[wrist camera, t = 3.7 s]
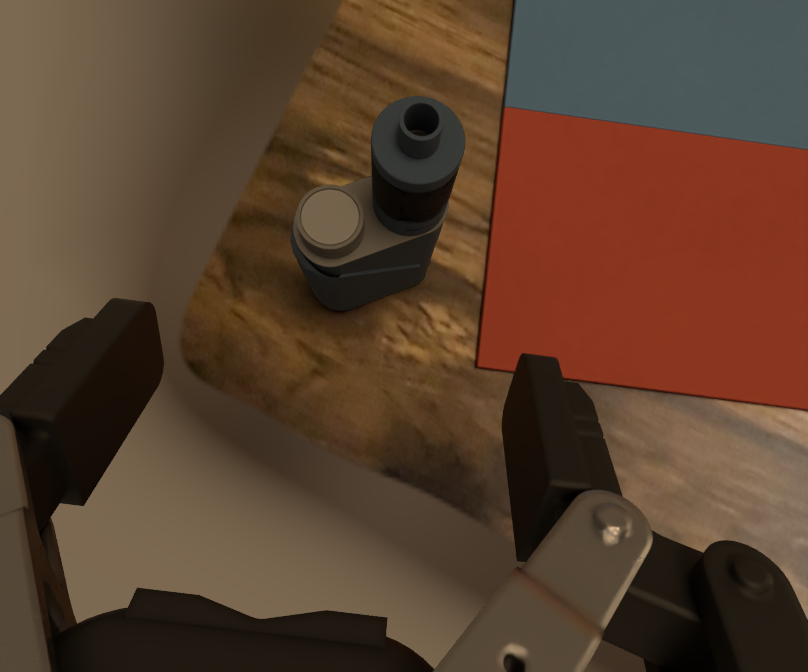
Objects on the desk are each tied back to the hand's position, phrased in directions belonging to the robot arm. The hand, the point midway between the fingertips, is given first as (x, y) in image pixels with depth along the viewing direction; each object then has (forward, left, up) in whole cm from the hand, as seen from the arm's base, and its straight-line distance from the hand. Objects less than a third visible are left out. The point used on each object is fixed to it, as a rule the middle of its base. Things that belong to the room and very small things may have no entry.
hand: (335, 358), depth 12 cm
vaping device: (0, +5, -12) cm, 13 cm away
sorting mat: (+12, +14, -12) cm, 22 cm away
